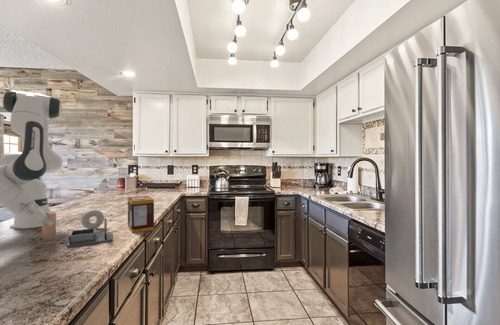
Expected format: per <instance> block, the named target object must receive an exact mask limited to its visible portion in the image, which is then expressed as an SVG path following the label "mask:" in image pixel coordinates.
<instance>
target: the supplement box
mask: <svg viewBox="0 0 500 325" xmlns="http://www.w3.org/2000/svg"><path fill="white" fill-rule="evenodd" d="M127 227H128V228H129V230H130V232H131V234H134V233H135V234H136V233H142V232H149V231H154V230H155V199H154V198H151V197H150V196H149V195H140V196H128V197H127Z"/></svg>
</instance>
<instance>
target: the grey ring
mask: <svg viewBox="0 0 500 325" xmlns="http://www.w3.org/2000/svg"><path fill="white" fill-rule="evenodd" d="M92 217H95V218H96V220H95V221H93V222H91V221H90V219H91V218H92ZM104 219H105V215H104V213H103V211H101V210H98V209H89V210H87V211H86V212H85V213H84V214H82V217H81V225H82V226H83V227H84V229H92V228H96V229H97V228H99V227H100V226H102V225H103V224H104Z"/></svg>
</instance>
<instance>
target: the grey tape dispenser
mask: <svg viewBox="0 0 500 325" xmlns="http://www.w3.org/2000/svg"><path fill="white" fill-rule="evenodd" d="M103 224H104V226H103V227H104V231H103V232H98V233H97V228H92V229H87V228H84V229H83V228H82V229H75V230H71V231H70V233H69V236H68V242H67V248H73V247H74V248H75V247H82V246H89V245H95V244H104V243H110V242H113V233H112V231H108V230H107V224H108V223H107V218H105V217H104V221H103Z"/></svg>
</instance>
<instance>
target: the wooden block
mask: <svg viewBox="0 0 500 325" xmlns="http://www.w3.org/2000/svg"><path fill="white" fill-rule="evenodd" d="M45 214H46V215H47V218H49V219H50V220H52V221H53V222H54V223H53V224H52V225H51V226H49V225H48V224H46V223H44V222H42V226H41V238H42V239H49V238H53V237H56V236H57V212H50V213H45Z"/></svg>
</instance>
